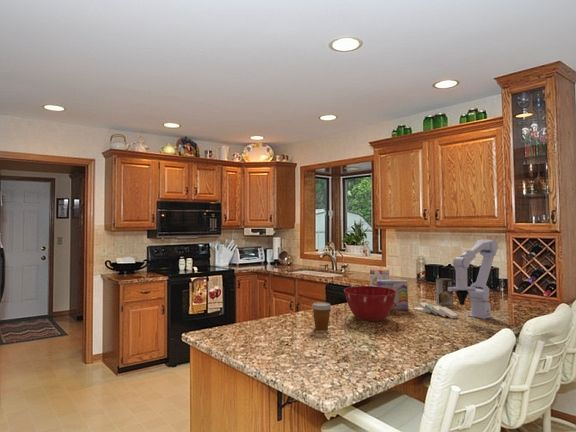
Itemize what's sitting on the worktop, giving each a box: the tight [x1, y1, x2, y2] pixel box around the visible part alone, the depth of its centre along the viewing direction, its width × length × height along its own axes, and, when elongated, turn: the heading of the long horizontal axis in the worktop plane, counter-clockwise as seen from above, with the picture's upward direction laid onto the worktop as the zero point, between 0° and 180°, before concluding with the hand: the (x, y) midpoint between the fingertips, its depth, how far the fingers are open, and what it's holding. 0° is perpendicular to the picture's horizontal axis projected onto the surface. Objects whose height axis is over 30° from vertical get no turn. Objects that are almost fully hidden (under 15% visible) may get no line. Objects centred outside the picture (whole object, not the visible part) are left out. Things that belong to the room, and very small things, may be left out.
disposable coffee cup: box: [311, 301, 332, 331], centre depth 199 cm, size 10×10×12 cm
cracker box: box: [369, 267, 390, 287], centre depth 273 cm, size 14×6×21 cm, turn 25°
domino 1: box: [412, 306, 428, 314], centre depth 238 cm, size 2×5×9 cm
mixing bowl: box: [343, 285, 397, 322], centre depth 220 cm, size 28×28×16 cm
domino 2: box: [418, 302, 433, 314], centre depth 236 cm, size 2×5×9 cm
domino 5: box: [439, 306, 459, 320], centre depth 223 cm, size 2×5×9 cm
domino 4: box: [432, 305, 447, 318], centre depth 227 cm, size 2×5×9 cm
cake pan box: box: [377, 279, 409, 311], centre depth 243 cm, size 19×5×18 cm, turn 76°
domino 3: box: [425, 303, 441, 316], centre depth 231 cm, size 2×5×9 cm
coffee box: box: [435, 277, 454, 306], centre depth 258 cm, size 9×6×16 cm
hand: (461, 304), depth 216 cm, fingers closed
